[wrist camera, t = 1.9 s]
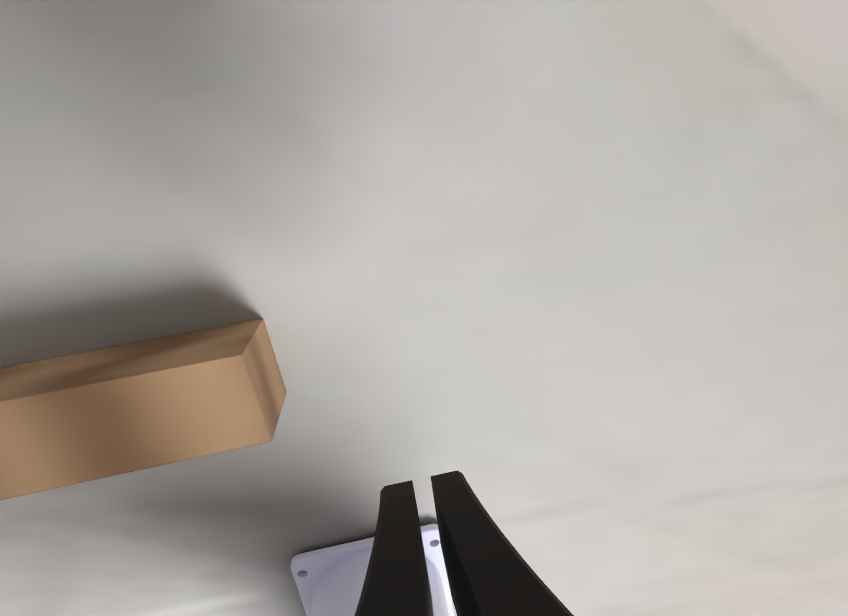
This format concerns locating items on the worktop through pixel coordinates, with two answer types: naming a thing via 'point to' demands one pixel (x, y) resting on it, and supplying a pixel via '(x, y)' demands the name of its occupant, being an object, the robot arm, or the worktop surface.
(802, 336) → the worktop surface
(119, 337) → the worktop surface
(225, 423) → the tan rectangular block
